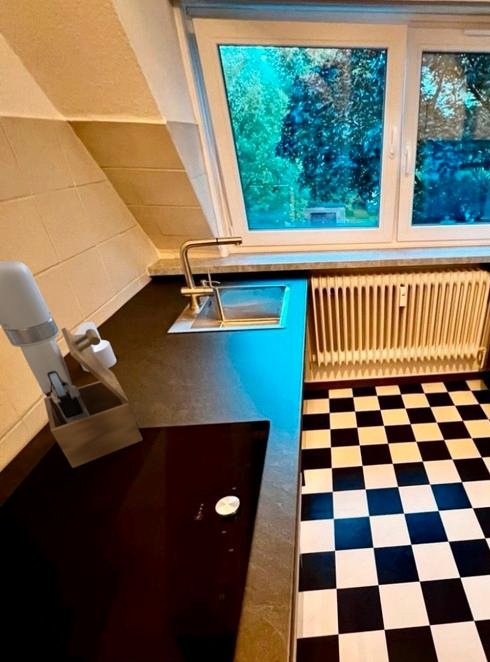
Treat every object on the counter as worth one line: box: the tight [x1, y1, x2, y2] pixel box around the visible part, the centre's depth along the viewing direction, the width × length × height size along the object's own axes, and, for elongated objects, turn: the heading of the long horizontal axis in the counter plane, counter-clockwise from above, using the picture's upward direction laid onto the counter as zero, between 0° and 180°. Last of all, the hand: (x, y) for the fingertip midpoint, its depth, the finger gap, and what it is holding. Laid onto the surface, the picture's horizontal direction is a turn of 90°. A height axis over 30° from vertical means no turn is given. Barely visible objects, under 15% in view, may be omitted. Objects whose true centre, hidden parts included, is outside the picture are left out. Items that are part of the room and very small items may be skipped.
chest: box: [43, 380, 144, 469], centre depth 86 cm, size 14×15×11 cm
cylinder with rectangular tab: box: [73, 321, 117, 373], centre depth 114 cm, size 9×9×12 cm
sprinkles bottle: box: [50, 384, 90, 424], centre depth 83 cm, size 5×5×14 cm
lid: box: [60, 327, 130, 404], centre depth 82 cm, size 14×15×5 cm
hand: (72, 408), depth 82 cm, fingers closed on sprinkles bottle, 4 cm apart
